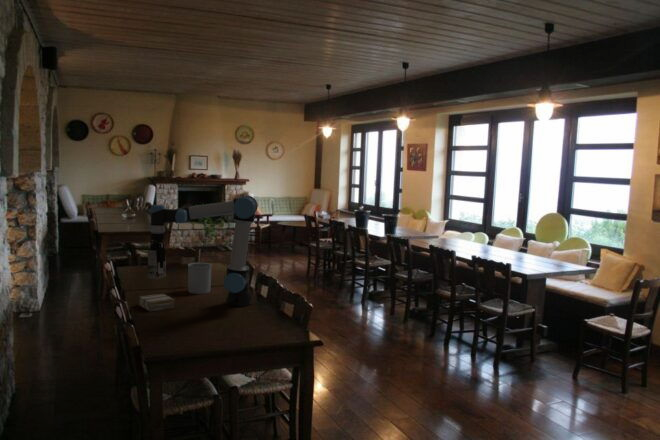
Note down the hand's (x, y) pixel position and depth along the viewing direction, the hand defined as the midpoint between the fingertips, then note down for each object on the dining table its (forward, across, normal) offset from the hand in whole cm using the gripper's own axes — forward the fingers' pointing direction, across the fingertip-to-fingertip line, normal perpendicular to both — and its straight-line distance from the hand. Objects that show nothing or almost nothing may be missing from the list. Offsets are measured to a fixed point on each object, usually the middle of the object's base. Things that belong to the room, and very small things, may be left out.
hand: (156, 271), depth 305 cm
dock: (+20, 0, 0) cm, 20 cm away
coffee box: (+3, 0, 0) cm, 3 cm away
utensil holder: (+20, -22, +37) cm, 48 cm away
